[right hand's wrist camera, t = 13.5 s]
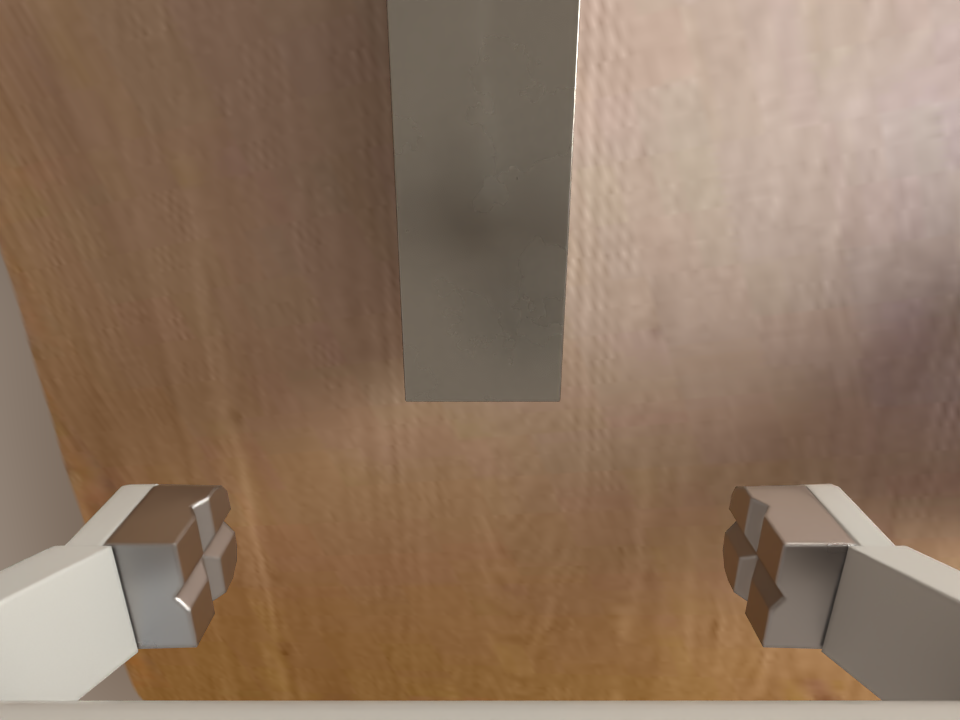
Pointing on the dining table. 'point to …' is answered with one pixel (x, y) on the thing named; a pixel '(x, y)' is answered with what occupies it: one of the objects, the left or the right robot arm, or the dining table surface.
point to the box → (483, 193)
